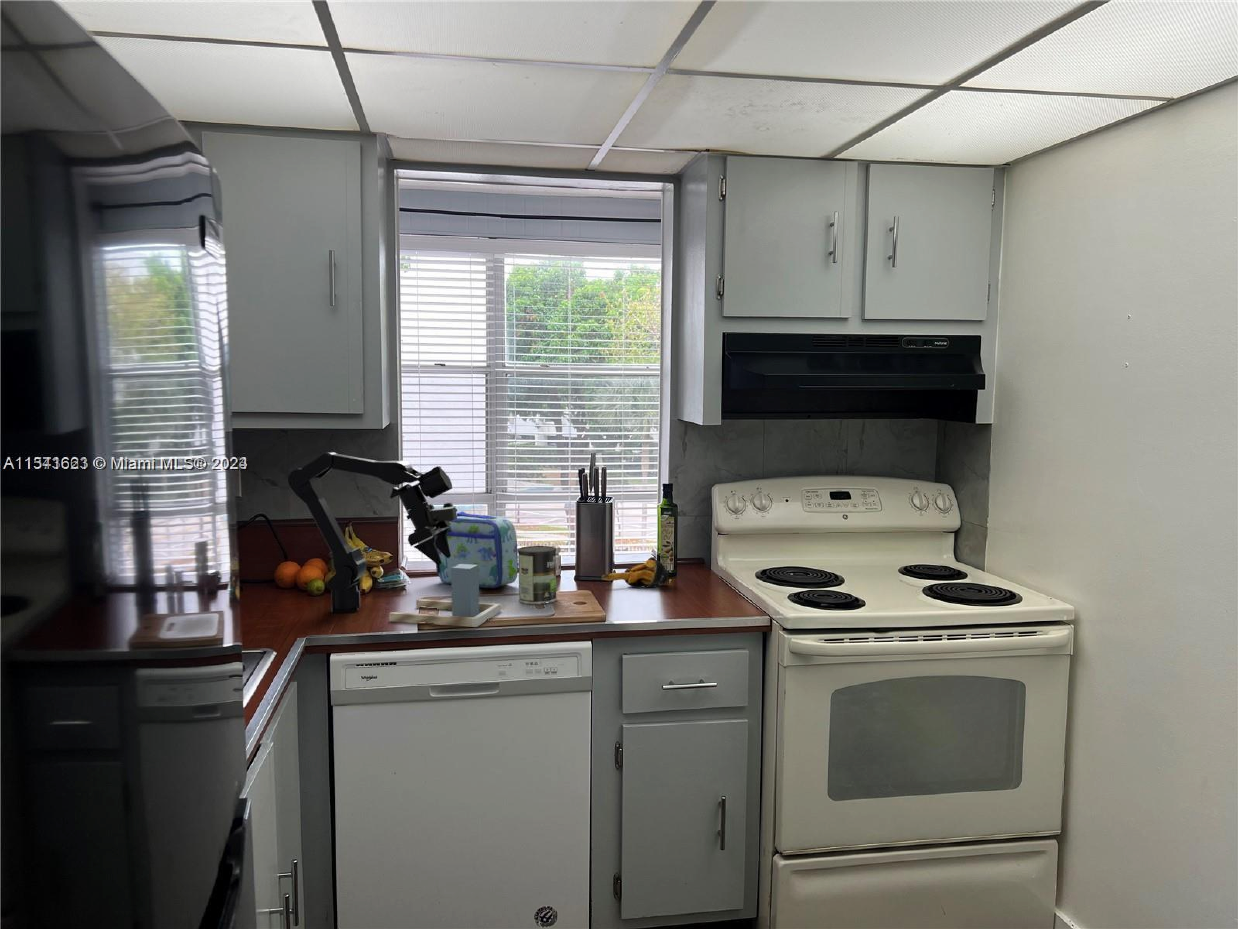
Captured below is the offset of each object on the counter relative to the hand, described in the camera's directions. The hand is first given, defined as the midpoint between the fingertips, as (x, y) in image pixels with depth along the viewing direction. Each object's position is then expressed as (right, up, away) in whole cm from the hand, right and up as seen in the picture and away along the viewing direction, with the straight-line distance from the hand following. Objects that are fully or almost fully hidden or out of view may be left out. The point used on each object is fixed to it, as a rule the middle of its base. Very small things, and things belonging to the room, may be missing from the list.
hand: (444, 560), depth 223 cm
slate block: (+7, -14, -6) cm, 16 cm away
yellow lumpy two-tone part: (+50, -11, +28) cm, 58 cm away
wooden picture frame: (+1, -14, -5) cm, 14 cm away
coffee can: (+23, -12, +12) cm, 29 cm away
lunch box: (+3, -11, +32) cm, 34 cm away
